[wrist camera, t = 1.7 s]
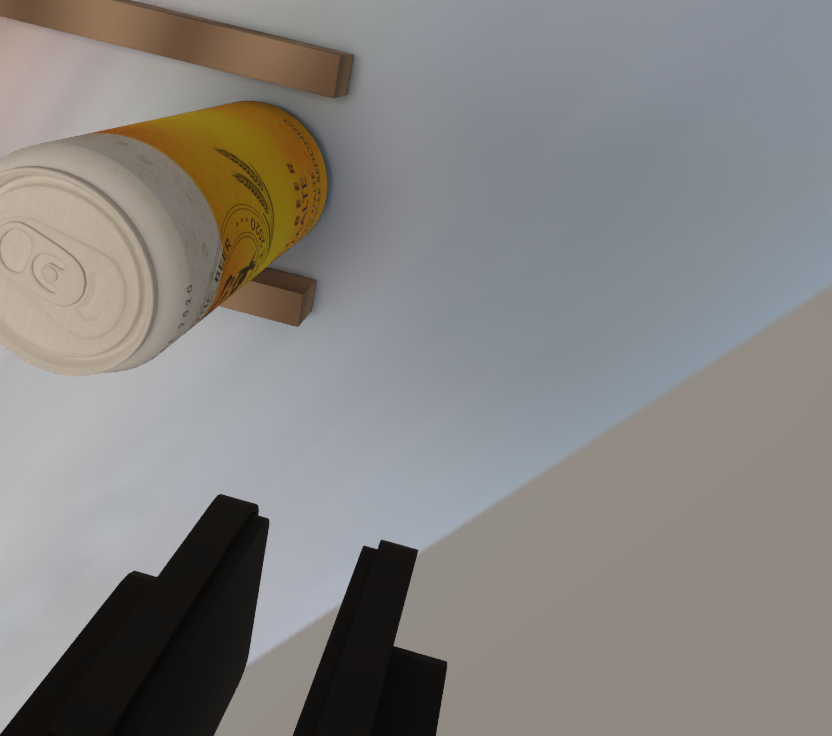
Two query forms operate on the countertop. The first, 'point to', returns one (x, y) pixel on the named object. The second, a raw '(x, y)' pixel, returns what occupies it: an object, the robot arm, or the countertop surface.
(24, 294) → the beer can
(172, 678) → the robot arm
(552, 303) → the countertop surface
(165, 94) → the countertop surface
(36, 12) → the u rest
